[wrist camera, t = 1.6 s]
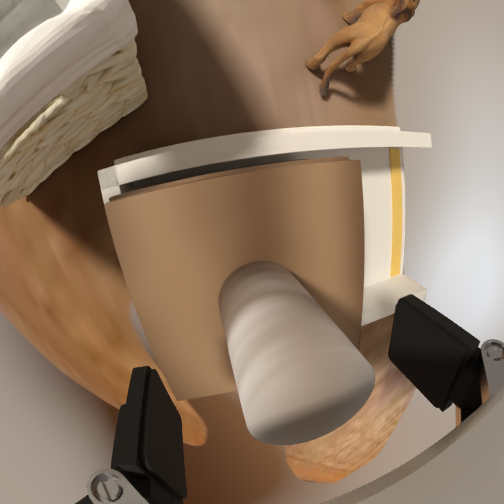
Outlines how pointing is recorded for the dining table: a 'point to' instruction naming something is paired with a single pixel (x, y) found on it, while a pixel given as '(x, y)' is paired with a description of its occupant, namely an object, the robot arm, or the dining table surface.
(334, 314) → the tan block with peg
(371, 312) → the bay
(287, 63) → the dining table surface
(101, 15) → the storage basket
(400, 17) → the lion figurine
